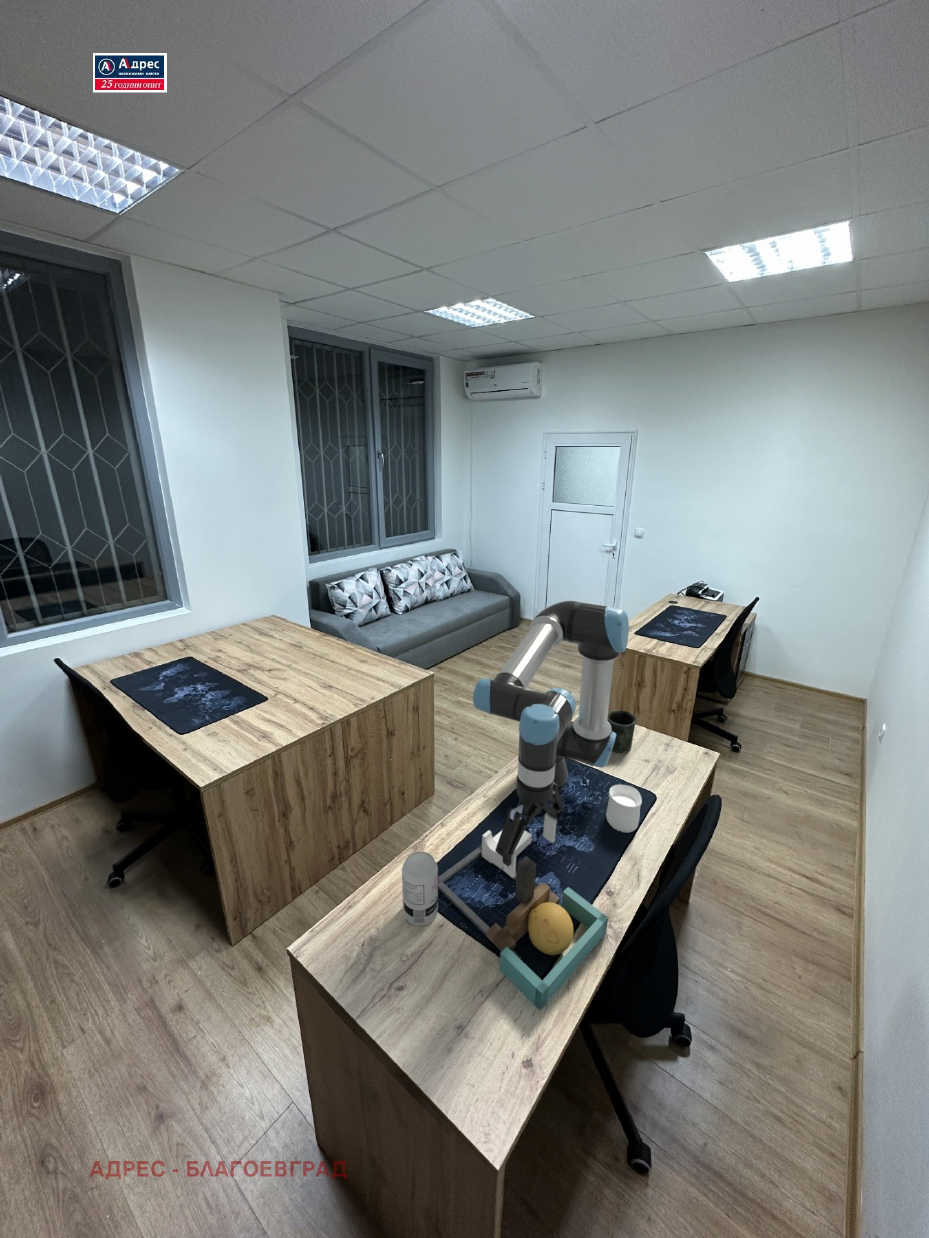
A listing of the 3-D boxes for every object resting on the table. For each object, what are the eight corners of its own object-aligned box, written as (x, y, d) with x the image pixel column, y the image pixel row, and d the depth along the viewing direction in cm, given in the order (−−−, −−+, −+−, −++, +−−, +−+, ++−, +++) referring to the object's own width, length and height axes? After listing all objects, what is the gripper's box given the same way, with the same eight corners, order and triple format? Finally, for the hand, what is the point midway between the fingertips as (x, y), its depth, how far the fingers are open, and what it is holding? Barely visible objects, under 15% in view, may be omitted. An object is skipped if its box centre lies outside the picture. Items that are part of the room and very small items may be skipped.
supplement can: (399, 903, 118) (397, 855, 113) (431, 892, 122) (430, 845, 116) (409, 932, 111) (407, 883, 106) (442, 920, 115) (443, 871, 109)
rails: (481, 847, 135) (481, 844, 135) (565, 915, 116) (565, 912, 116) (433, 883, 124) (433, 880, 124) (516, 965, 105) (516, 962, 104)
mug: (597, 746, 182) (601, 718, 178) (612, 729, 193) (616, 702, 188) (626, 757, 175) (630, 728, 171) (639, 739, 186) (644, 712, 182)
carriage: (539, 890, 122) (544, 835, 116) (558, 906, 118) (565, 849, 112) (486, 939, 110) (489, 880, 104) (506, 958, 106) (510, 898, 100)
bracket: (501, 872, 128) (503, 849, 126) (481, 857, 133) (482, 835, 130) (531, 844, 137) (532, 823, 134) (511, 831, 142) (512, 810, 139)
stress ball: (558, 926, 115) (528, 896, 115) (587, 919, 108) (555, 887, 108) (544, 968, 107) (512, 936, 107) (575, 963, 101) (540, 929, 101)
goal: (566, 902, 120) (568, 886, 118) (605, 933, 112) (608, 917, 110) (499, 969, 104) (500, 952, 102) (540, 1010, 97) (542, 993, 95)
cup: (623, 806, 152) (627, 780, 148) (646, 828, 143) (651, 801, 140) (598, 814, 148) (602, 788, 145) (620, 837, 140) (624, 810, 136)
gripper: (557, 744, 111) (550, 817, 118) (479, 796, 95) (477, 877, 102) (585, 759, 106) (576, 835, 113) (508, 817, 90) (504, 901, 97)
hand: (529, 855), depth 108 cm, fingers open, 13 cm apart
